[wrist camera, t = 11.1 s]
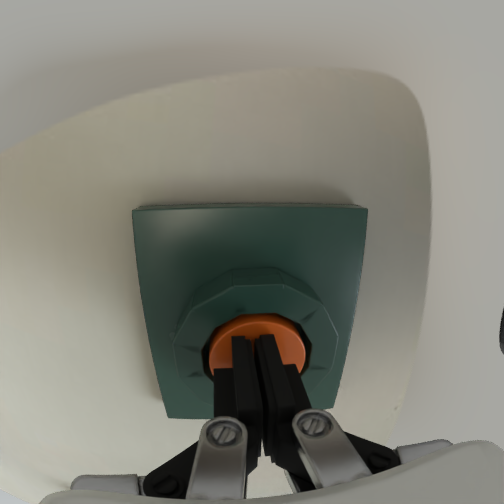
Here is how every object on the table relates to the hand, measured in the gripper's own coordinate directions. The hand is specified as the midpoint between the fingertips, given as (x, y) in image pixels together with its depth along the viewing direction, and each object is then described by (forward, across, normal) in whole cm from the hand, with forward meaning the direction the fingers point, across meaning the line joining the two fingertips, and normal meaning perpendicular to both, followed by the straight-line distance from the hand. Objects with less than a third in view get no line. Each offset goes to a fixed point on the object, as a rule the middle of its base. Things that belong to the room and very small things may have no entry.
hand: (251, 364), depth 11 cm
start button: (+2, 0, 0) cm, 2 cm away
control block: (+3, 0, 0) cm, 3 cm away
